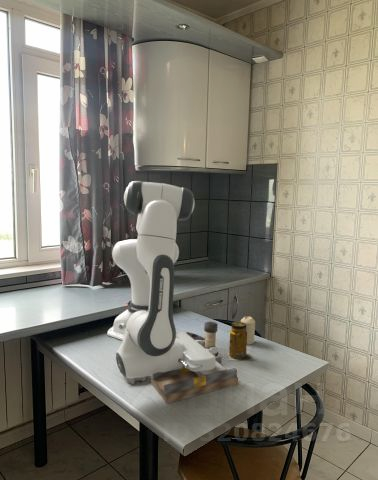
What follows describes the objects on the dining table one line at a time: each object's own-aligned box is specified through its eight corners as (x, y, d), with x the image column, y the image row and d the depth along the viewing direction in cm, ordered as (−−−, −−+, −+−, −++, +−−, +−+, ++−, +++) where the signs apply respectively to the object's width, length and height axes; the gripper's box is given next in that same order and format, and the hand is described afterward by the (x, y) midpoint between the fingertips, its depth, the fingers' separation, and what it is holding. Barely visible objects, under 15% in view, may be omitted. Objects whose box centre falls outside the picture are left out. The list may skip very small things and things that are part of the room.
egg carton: (119, 369, 123) (119, 357, 123) (142, 365, 126) (142, 354, 125) (125, 385, 113) (125, 372, 113) (149, 381, 116) (149, 369, 115)
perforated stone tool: (221, 359, 131) (222, 340, 130) (213, 364, 127) (214, 345, 126) (188, 347, 140) (188, 329, 139) (179, 351, 136) (179, 333, 135)
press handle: (203, 381, 112) (205, 330, 110) (192, 370, 118) (194, 322, 116) (226, 375, 116) (228, 326, 113) (214, 365, 122) (216, 318, 119)
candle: (237, 342, 146) (238, 317, 144) (243, 337, 150) (244, 313, 149) (250, 346, 143) (251, 320, 141) (256, 341, 147) (257, 316, 146)
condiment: (226, 351, 137) (227, 320, 136) (249, 351, 138) (250, 320, 136) (230, 361, 130) (232, 328, 128) (254, 360, 131) (256, 328, 129)
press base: (166, 403, 104) (166, 388, 104) (150, 382, 115) (150, 369, 114) (238, 384, 115) (238, 370, 115) (217, 366, 126) (218, 354, 125)
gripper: (188, 359, 100) (231, 350, 106) (158, 331, 118) (197, 325, 124) (188, 381, 101) (230, 370, 107) (158, 350, 119) (196, 343, 125)
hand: (212, 346), depth 116 cm, fingers closed on press handle, 3 cm apart
